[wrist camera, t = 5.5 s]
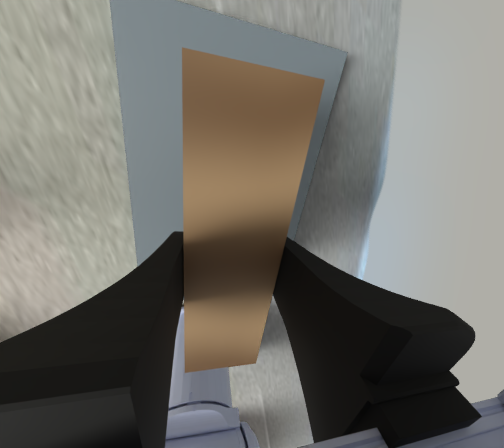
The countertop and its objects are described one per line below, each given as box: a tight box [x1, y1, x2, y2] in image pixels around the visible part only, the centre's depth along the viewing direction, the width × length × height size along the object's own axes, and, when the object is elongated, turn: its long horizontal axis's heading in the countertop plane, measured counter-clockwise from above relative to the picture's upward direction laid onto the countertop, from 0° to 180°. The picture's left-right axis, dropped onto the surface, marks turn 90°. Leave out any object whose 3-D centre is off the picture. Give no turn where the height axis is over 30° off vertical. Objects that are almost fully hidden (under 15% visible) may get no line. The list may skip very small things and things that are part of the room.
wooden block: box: [182, 47, 325, 373], centre depth 11 cm, size 14×4×5 cm, turn 172°
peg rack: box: [110, 0, 348, 300], centre depth 16 cm, size 22×14×4 cm, turn 171°
